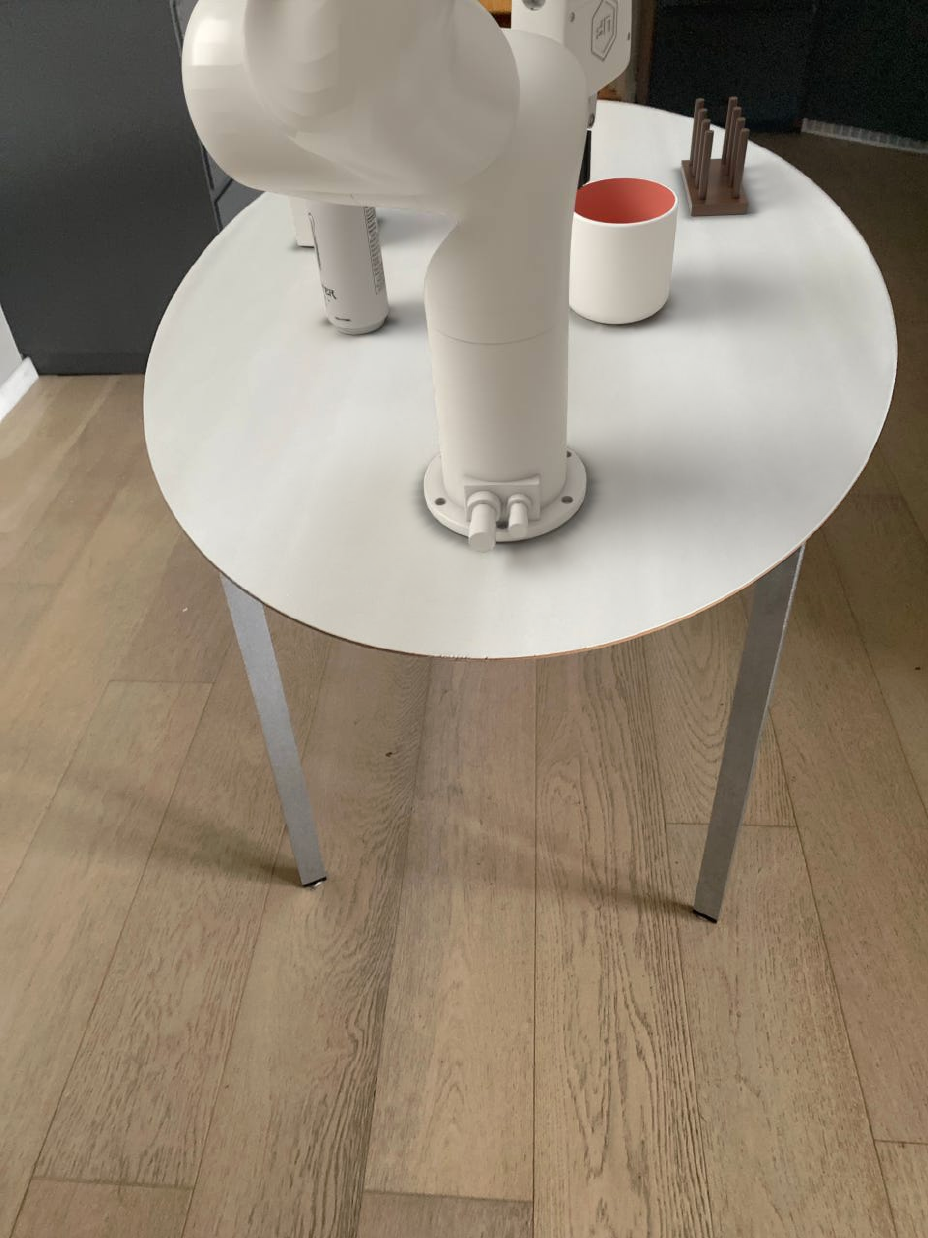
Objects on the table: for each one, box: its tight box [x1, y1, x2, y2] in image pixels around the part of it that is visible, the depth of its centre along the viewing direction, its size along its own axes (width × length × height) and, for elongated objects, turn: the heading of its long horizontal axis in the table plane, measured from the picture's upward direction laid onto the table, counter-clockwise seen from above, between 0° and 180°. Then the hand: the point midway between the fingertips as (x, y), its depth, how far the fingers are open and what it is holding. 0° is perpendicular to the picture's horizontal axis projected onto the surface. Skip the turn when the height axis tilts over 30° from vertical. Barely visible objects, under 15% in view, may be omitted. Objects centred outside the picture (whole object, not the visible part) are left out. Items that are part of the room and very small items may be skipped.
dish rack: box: [680, 96, 750, 217], centre depth 105 cm, size 12×6×8 cm, turn 177°
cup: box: [569, 176, 680, 325], centre depth 89 cm, size 10×10×10 cm
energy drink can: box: [305, 199, 390, 335], centre depth 88 cm, size 6×6×15 cm
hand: (567, 182), depth 76 cm, fingers closed
